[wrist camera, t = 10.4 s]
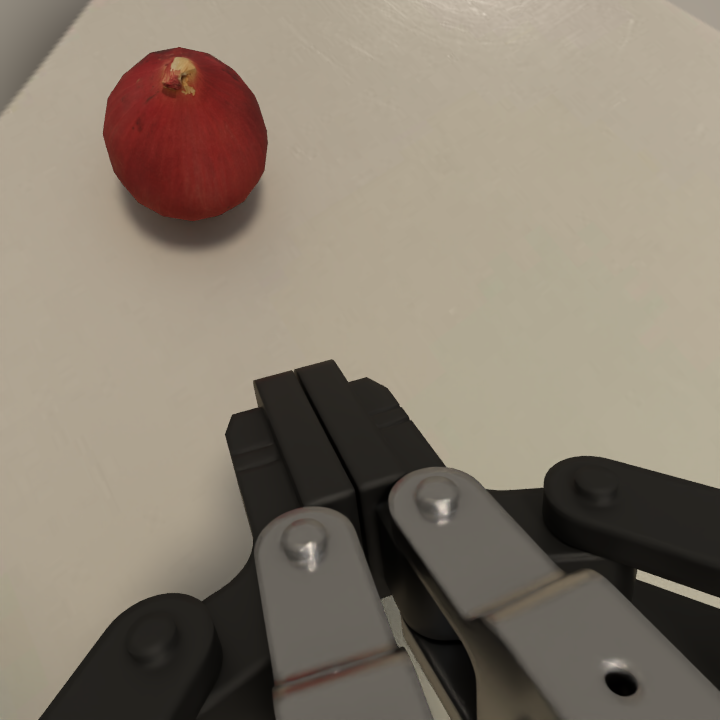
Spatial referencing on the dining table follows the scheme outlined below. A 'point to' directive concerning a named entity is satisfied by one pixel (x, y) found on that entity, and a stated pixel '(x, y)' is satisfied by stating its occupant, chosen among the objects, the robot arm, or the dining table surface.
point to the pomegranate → (185, 134)
